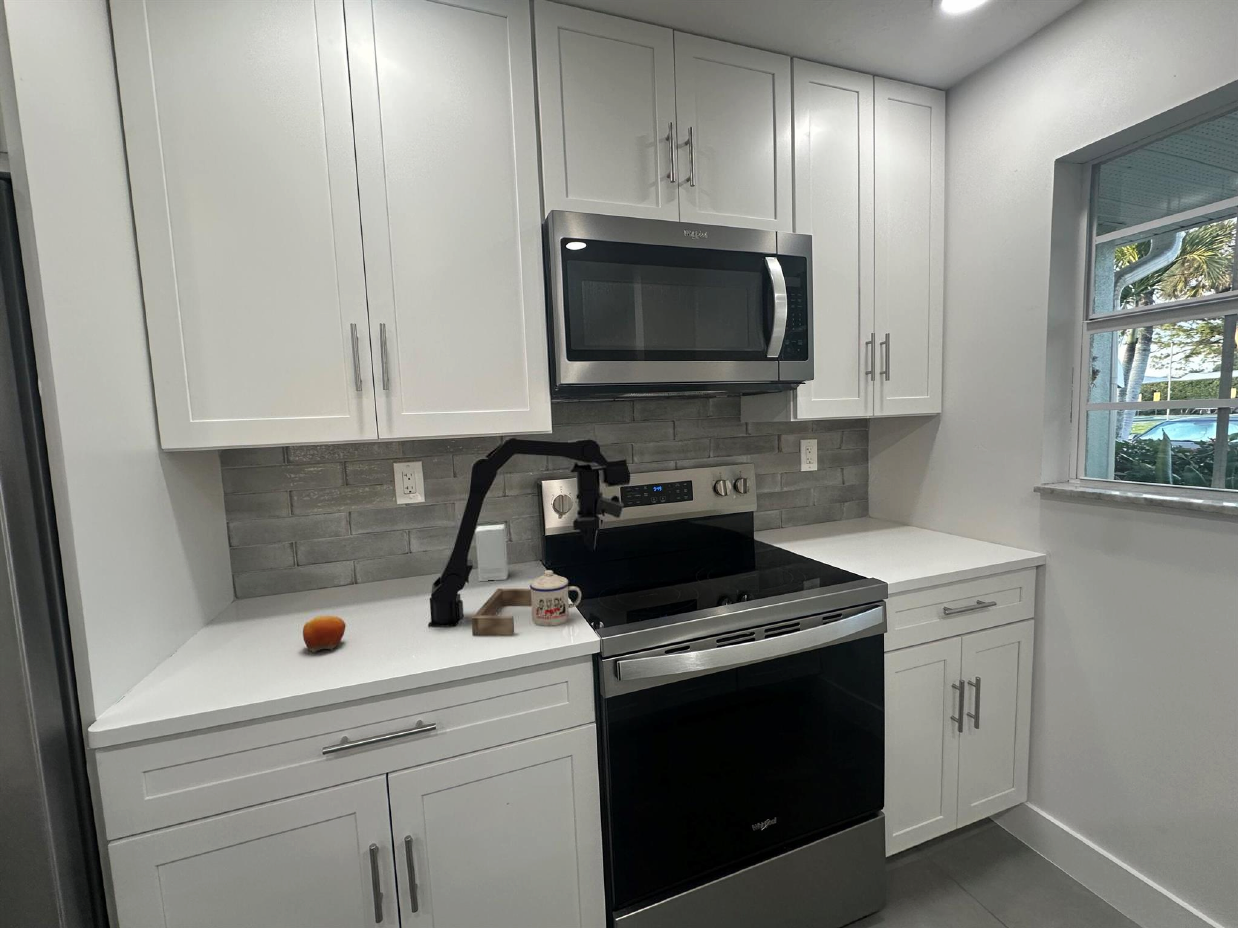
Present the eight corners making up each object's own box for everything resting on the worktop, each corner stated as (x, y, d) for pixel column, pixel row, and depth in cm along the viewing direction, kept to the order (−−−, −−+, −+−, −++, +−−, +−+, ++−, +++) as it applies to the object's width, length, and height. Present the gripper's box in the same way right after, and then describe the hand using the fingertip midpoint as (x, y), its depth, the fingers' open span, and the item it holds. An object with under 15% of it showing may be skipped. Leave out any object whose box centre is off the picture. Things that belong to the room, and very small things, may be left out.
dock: (472, 635, 120) (471, 618, 120) (498, 603, 140) (497, 588, 139) (512, 635, 119) (511, 617, 119) (533, 603, 139) (532, 588, 139)
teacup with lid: (532, 628, 123) (530, 578, 122) (529, 614, 132) (527, 567, 131) (585, 622, 126) (583, 573, 125) (578, 609, 134) (577, 563, 133)
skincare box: (508, 573, 166) (506, 523, 165) (506, 580, 159) (504, 528, 158) (480, 575, 165) (478, 525, 164) (477, 582, 158) (474, 529, 157)
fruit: (299, 655, 109) (299, 615, 112) (305, 661, 116) (305, 623, 119) (344, 647, 112) (343, 608, 115) (347, 653, 119) (346, 616, 122)
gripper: (618, 493, 126) (622, 559, 128) (622, 482, 145) (625, 539, 146) (571, 495, 127) (575, 560, 128) (581, 484, 145) (584, 541, 147)
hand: (592, 549), depth 138 cm, fingers closed
